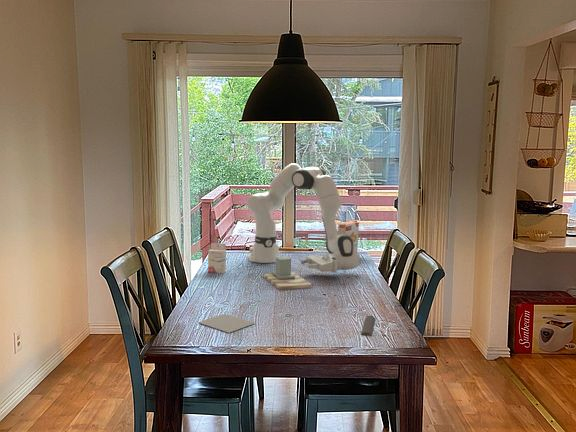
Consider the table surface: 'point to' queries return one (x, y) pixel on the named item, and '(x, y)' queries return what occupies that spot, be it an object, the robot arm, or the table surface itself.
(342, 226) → the cracker box
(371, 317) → the half round rod
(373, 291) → the table surface
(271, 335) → the table surface
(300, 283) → the birch board
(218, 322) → the paper stack
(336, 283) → the table surface
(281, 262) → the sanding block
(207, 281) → the table surface
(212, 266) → the ink cartridge box
